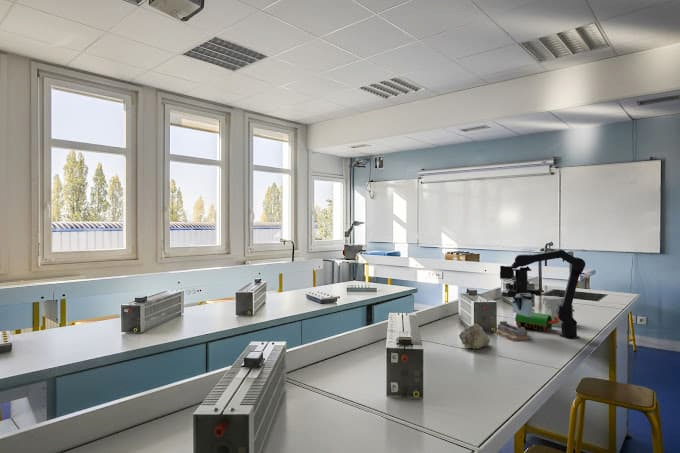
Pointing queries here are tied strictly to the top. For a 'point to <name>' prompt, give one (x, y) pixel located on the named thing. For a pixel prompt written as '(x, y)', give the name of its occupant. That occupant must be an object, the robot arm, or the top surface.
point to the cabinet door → (523, 307)
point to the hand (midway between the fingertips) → (522, 309)
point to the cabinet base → (512, 331)
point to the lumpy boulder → (474, 337)
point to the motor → (536, 321)
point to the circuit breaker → (553, 307)
